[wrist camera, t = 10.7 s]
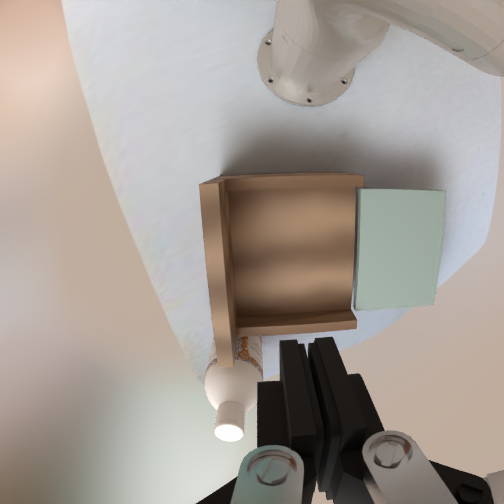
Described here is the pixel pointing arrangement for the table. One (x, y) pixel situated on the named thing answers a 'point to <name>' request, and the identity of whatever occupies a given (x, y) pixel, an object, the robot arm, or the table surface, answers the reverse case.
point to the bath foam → (234, 386)
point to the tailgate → (398, 247)
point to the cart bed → (278, 254)
